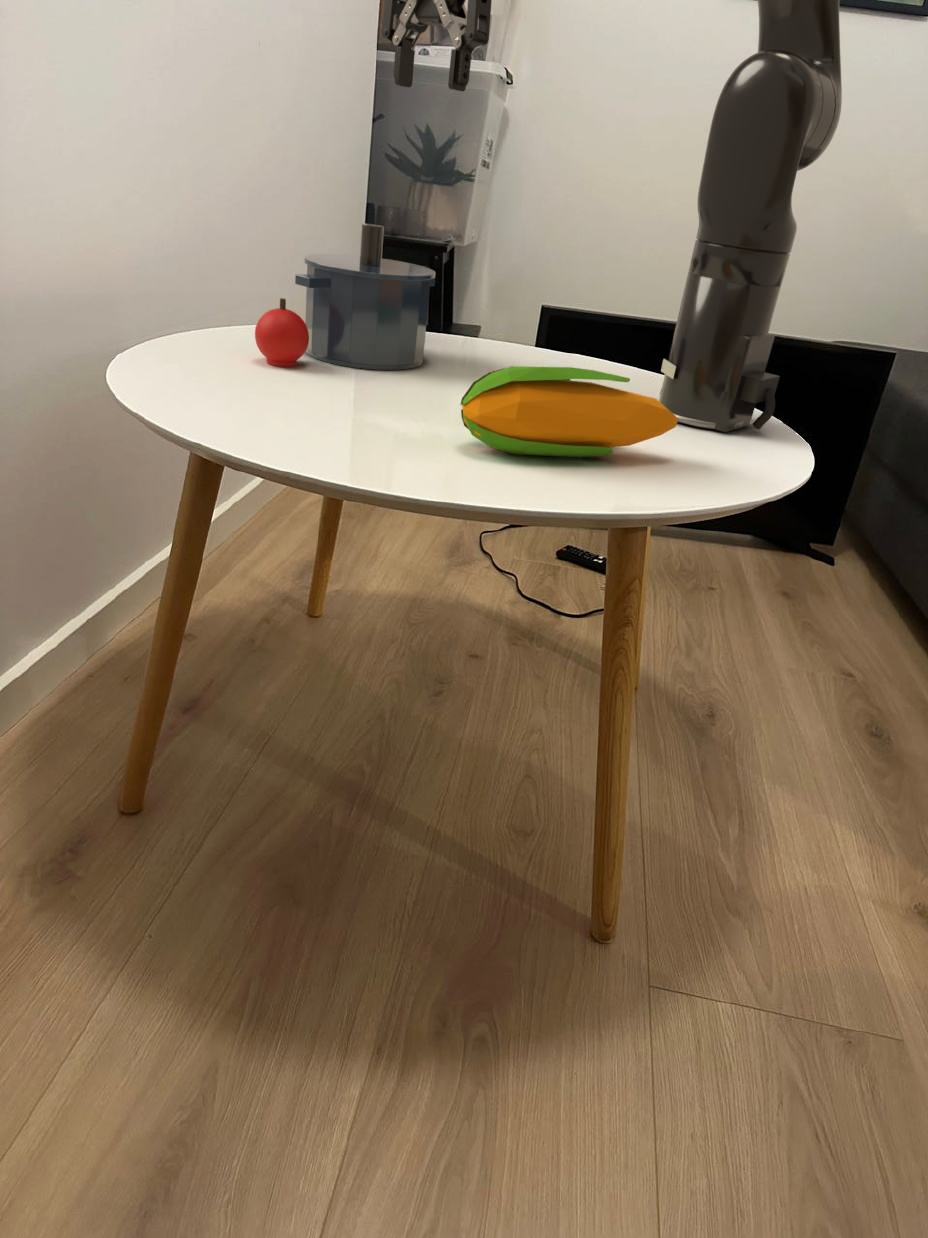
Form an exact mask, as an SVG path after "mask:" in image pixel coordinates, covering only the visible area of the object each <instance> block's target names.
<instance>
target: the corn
mask: <svg viewBox="0 0 928 1238" xmlns="http://www.w3.org/2000/svg"><path fill="white" fill-rule="evenodd" d="M581 380H582V381H581ZM583 380H597V381H598V380H599V381H611V382H619V383H620V382H621V383H630V381H631V378H630V377H626V376H621V375H617V374H612V373H607V372H603V371H599V370H594V369H586V368H580V367H572V366H571V367H570V366H561V367H560V366H512V365H511V366H509V367H504V368H500V369H497V370H493V371H490V372H488V373H486V374H484V375H482V377H480V378H478V379H476V380H475V381H473V382H472V383H471V385H470V386H469V388H468V389H467V391H466V392H465V393H464V394H463V396H462V397H461V401H460V403H459V406H461V409H460V413H461V415H460V416H461V420H462V423H463V427H465V428H466V429H467V430H468V431H469V433H470V434H471V436H473V437H474V438H476V439H478V440H479V441H480V442H482V443H483V444H485V445H486V446H488V447H490V448H491V449H495V450H498V451H502V452H505V453H508V454H512V455H521V456H543V457H544V456H545V457H566V458H590V457H603V456H609V455H612V454H613V452H614V450H613V449H612V448H619V447H620V448H621V447H629V446H632V445H636V444H638V443H642V442H644V441H647V440H651V439H654V438H657V437H659V436H662V435H664V434H666V433H667V432H669V431H671V430H673V429H675V428H676V427H677V424H678V423H679V422H678V418H677V417H676V416H675V415H674V414H673V413H672V412H670V411H669V410H668V409H667V408H666V407H665V406H664V405H663V404H662V403H660V402H659V399H657V398H654V397H651V396H647V395H643V394H639V393H634V392H631V391H628V390H624V389H619V388H615V387H611V386H607V385H603V384H599V383H595V382H592V381H583Z"/></svg>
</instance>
